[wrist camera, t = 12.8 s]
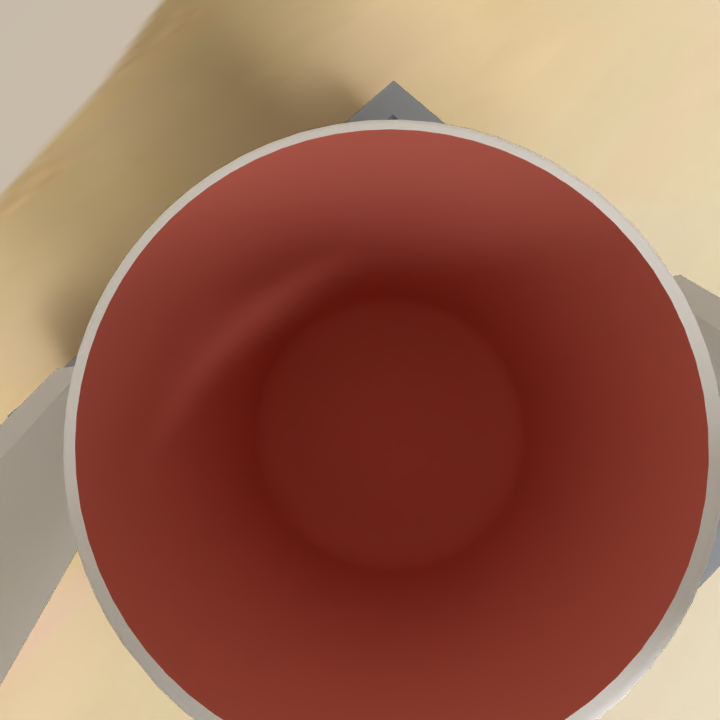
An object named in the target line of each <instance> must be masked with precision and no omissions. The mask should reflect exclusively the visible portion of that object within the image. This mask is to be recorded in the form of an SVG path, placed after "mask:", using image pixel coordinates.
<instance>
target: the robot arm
mask: <svg viewBox="0 0 720 720" xmlns="http://www.w3.org/2000/svg"><path fill="white" fill-rule="evenodd" d="M673 278H674V279H675V281H676V283H677V284H678V286H679V288H680V289H681V291H682V293H683V294H684V296H685V298H686V300H687V302H688V304H689V306H690V308H691V311H692V313H693V315H694V317H695V319H696V321H697V323H698V326H699V328H700V331H701V334H702V336H703V339H704V341H705V344H706V347H707V349H708V353H709V356H710V360H711V363H712V367H713V370H714V374H715V377H716V382H717V387H718V393H719V398H720V298H719V297H717V296H716V295H714V294H712V293H710V292H709V291H707V290H705V289H704V288H702V287H700V286H698V285H697V284H695V283H693V282H691V281H690V280H688V279H686V278H685V277H683V276H681V275H678V276H673ZM73 369H74V366H72V367H65V368H58V369H56V370H55V371H54V372H53V373H52V374H51V375H50V376H49V377H48V378H47V379H46V380H45V381H44V382H43V383H42V384H41V385H40V386H39V387H38V388H37V389H36V390H35V391H34V392H33V393H32V394H31V395H30V396H29V397H28V398H27V399H26V400H25V401H24V402H23V403H22V404H21V405H20V406H19V407H18V408H17V409H16V410H15V411H14V412H13V413H12V414H11V415H10V416H9V417H8V418H7V419H6V420H5V421H4V422H3V423H2V424H1V425H0V685H1V684H2V682H3V680H4V678H5V676H6V675H7V673H8V671H9V669H10V668H11V666H12V664H13V662H14V661H15V659H16V657H17V655H18V654H19V652H20V650H21V648H22V647H23V645H24V643H25V641H26V640H27V638H28V636H29V634H30V633H31V631H32V629H33V627H34V626H35V624H36V622H37V620H38V619H39V617H40V615H41V613H42V612H43V610H44V608H45V606H46V605H47V603H48V601H49V599H50V598H51V596H52V594H53V592H54V590H55V589H56V587H57V585H58V583H59V582H60V580H61V578H62V576H63V575H64V573H65V571H66V569H67V568H68V566H69V564H70V562H71V561H72V559H73V557H74V555H75V554H76V552H77V550H78V548H77V545H76V542H75V538H74V534H73V529H72V525H71V521H70V516H69V511H68V504H67V497H66V490H65V479H64V462H63V446H64V424H65V415H66V405H67V398H68V393H69V388H70V383H71V378H72V373H73Z"/></svg>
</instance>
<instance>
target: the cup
mask: <svg viewBox="0 0 720 720" xmlns="http://www.w3.org/2000/svg"><path fill="white" fill-rule="evenodd" d="M63 462H64V479H65V490H66V497H67V504H68V511H69V516H70V521H71V525H72V529H73V534H74V538H75V542H76V545H77V548H78V552H79V555H80V558H81V561H82V564H83V567H84V570H85V572H86V575H87V577H88V580H89V582H90V584H91V587H92V589H93V592H94V594H95V596H96V598H97V600H98V602H99V604H100V606H101V608H102V610H103V612H104V614H105V616H106V618H107V619H108V621H109V623H110V624H111V626H112V628H113V629H114V631H115V632H116V634H117V636H118V637H119V639H120V640H121V642H122V644H123V645H124V646H125V647H126V649H127V650H128V651H129V652H130V654H131V655H132V656H133V657H134V658H135V660H136V661H137V662H138V663H139V665H140V666H141V667H142V668H143V669H144V671H145V672H146V673H147V674H148V676H149V677H150V678H151V679H152V681H153V682H154V683H155V684H156V685H157V687H158V688H159V689H160V690H162V691H163V692H164V693H165V694H166V695H167V696H168V697H169V698H170V699H171V700H172V701H173V702H174V703H175V704H177V705H178V706H179V707H180V708H181V709H182V710H183V711H184V712H185V713H187V714H188V715H189V716H191V717H192V718H193V719H195V720H598V719H599V718H600V717H601V716H602V715H604V714H605V713H606V712H607V711H608V710H610V709H611V708H612V707H613V706H614V705H616V704H617V703H618V702H619V701H620V700H622V699H623V698H624V697H625V695H626V694H627V693H628V692H629V691H630V690H631V689H632V688H633V687H634V686H635V685H636V683H637V682H638V681H639V680H640V679H641V678H642V677H643V676H644V675H645V674H646V673H647V672H648V670H649V669H650V668H651V667H652V666H653V664H654V663H655V661H656V660H657V659H658V657H659V656H660V654H661V653H662V652H663V650H664V649H665V647H666V646H667V645H668V643H669V642H670V640H671V639H672V638H673V636H674V634H675V633H676V631H677V629H678V627H679V625H680V624H681V622H682V620H683V618H684V616H685V614H686V613H687V611H688V609H689V607H690V605H691V604H692V602H693V599H694V597H695V594H696V592H697V589H698V587H699V584H700V582H701V579H702V577H703V574H704V572H705V569H706V567H707V565H708V561H709V558H710V554H711V551H712V547H713V544H714V540H715V537H716V532H717V527H718V522H719V516H720V398H719V393H718V387H717V382H716V377H715V374H714V370H713V367H712V363H711V360H710V356H709V353H708V349H707V347H706V344H705V341H704V339H703V336H702V334H701V331H700V328H699V326H698V323H697V321H696V319H695V317H694V315H693V313H692V311H691V308H690V306H689V304H688V302H687V300H686V298H685V296H684V294H683V293H682V291H681V289H680V288H679V286H678V284H677V283H676V281H675V279H674V278H673V276H672V274H671V273H670V271H669V269H668V268H667V267H666V265H665V264H664V262H663V261H662V260H661V258H660V257H659V256H658V254H657V253H656V251H655V250H654V249H653V247H652V246H651V245H650V244H649V242H648V241H647V240H646V239H645V238H644V237H643V235H642V234H641V233H640V232H639V231H638V230H637V228H636V227H635V226H634V225H633V224H632V223H631V222H630V221H629V220H628V219H627V218H626V217H625V216H624V215H623V214H622V213H621V212H620V211H619V210H618V209H617V208H616V207H615V206H614V205H612V204H611V203H610V202H609V201H608V200H606V199H605V198H604V197H603V196H602V195H601V194H599V193H598V192H597V191H596V190H594V189H593V188H591V187H590V186H589V185H587V184H586V183H584V182H583V181H581V180H580V179H578V178H577V177H575V176H574V175H572V174H571V173H569V172H568V171H566V170H565V169H563V168H562V167H560V166H559V165H557V164H556V163H554V162H552V161H550V160H548V159H546V158H544V157H542V156H540V155H538V154H536V153H535V152H533V151H531V150H529V149H526V148H524V147H521V146H519V145H516V144H514V143H511V142H509V141H506V140H504V139H501V138H499V137H496V136H492V135H489V134H485V133H482V132H478V131H475V130H471V129H468V128H463V127H458V126H452V125H447V124H441V123H436V122H426V121H413V120H365V121H357V122H349V123H342V124H334V125H330V126H325V127H321V128H317V129H312V130H308V131H304V132H300V133H297V134H294V135H291V136H288V137H285V138H283V139H280V140H277V141H274V142H271V143H269V144H266V145H264V146H262V147H260V148H258V149H255V150H253V151H251V152H249V153H247V154H245V155H242V156H240V157H239V158H237V159H235V160H234V161H232V162H230V163H228V164H227V165H225V166H223V167H222V168H220V169H218V170H216V171H215V172H213V173H212V174H210V175H209V176H208V177H206V178H205V179H203V180H202V181H201V182H199V183H198V184H196V185H195V186H194V187H192V188H191V189H190V190H188V191H187V192H186V193H185V194H184V195H182V196H181V197H180V198H179V199H178V200H177V201H176V202H174V203H173V204H172V205H171V206H170V207H169V208H168V209H166V210H165V211H164V212H163V213H162V214H161V216H160V217H159V218H158V219H157V220H156V221H155V222H154V223H153V224H152V225H151V226H150V227H149V228H148V229H147V230H146V231H145V232H144V234H143V235H142V236H141V237H140V239H139V240H138V241H137V242H136V244H135V245H134V246H133V248H132V249H131V250H130V251H129V253H128V254H127V255H126V257H125V258H124V260H123V261H122V263H121V264H120V266H119V267H118V269H117V270H116V272H115V273H114V275H113V277H112V278H111V280H110V281H109V283H108V285H107V287H106V288H105V290H104V292H103V294H102V296H101V298H100V300H99V301H98V303H97V306H96V308H95V310H94V312H93V315H92V317H91V319H90V321H89V324H88V326H87V329H86V331H85V334H84V337H83V340H82V343H81V345H80V348H79V351H78V355H77V359H76V362H75V366H74V369H73V373H72V378H71V383H70V388H69V393H68V398H67V405H66V415H65V424H64V446H63Z"/></svg>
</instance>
